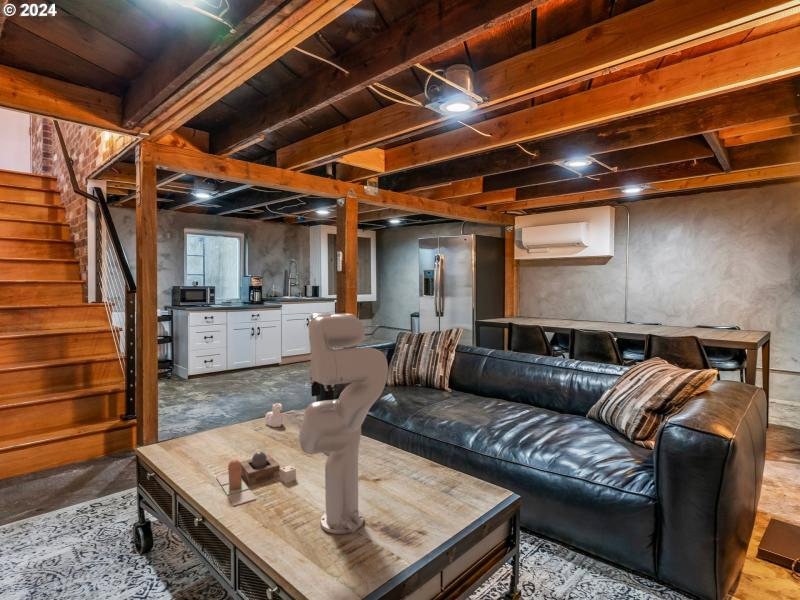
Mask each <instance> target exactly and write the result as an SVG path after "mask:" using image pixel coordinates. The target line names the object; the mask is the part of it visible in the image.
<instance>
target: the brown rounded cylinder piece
mask: <svg viewBox="0 0 800 600" xmlns="http://www.w3.org/2000/svg"><path fill="white" fill-rule="evenodd" d="M240 462H241V461H239V460H238V459H232V460H230V461H229V463H228V465H227V470H228V474H229V489H230V490H237V489H240V488H241V487H242V481H243V479H242V480H241V478H242V475H241V463H240Z"/></svg>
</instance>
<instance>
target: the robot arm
mask: <svg viewBox="0 0 800 600" xmlns="http://www.w3.org/2000/svg"><path fill="white" fill-rule="evenodd" d="M309 317H310V318H309V321H308V338H309V340H308V341H309V346H310V347H309V348H310V352H309V353H310V355H311V358H310V370H309V376H310V377H309V378H310V385H311V387H310V388H311V391H310V392H311V396H312V397H319V396H320V395H321V385H323V387H324V391H323V393H324V397H323V400H318V401H314V402H311V403H310V404H309V405H308V406H307V407H306V408H305V412H304V415H303V418H302V421H301V426H300V430H299V435H298V436H299V437H298V438H299V440H298V442H299V446H300V447H301V448H300V449H301V450H302V451H303V453H305V454H307V455H319V454H325V452H331V453H330V455H329V456H328V455H327V456H328V457H327V458H326V460H325V461H326V462H325V467H324V470H325V473H324V474H325V476H324V479H325V480H324V483H325V484H324V485H325V487H324V488H325V512H324V513H323V514H322V515H321V517H320V522H319V523H320V527H321V529H322V530H324V531H326V532H327V533H329V534H334V535H343V534H344V535H346V534H349V533H350V534H351V533H355V532H356V531H357V530H358V529H360V528H361V527H362V526H363V524H364V514H363V512H362V511H361V510H359V450H360V449H359V448H360V442H361V439H362V425H363V423H364V421H365V420H366V417H367V415H368V413H369V412H370V409H371V407H372V406H373V405H374V404H375V403H376V402H377V400H378V399H379V397H380V396H381V394H382V393H383V391H384V389H385V386H386V383H387V381H388V380H387V379H388V373H389V370H388V369H389V366H388V359H387V357H386V355H385V354H384V353H383V352H382V351H381V350H379V349H377V348H373V347H355V346H357V345H359V344H360V343H362V341H363V340H364V337H365V336H366V328H365V325H364V323H363V322H362V320H360V319H359V318H358V317H356V315H355V314H353V313H330V312H315V313H311V315H310V316H309ZM340 384H341V385H342V384H348V385H347V386H345V388H344V389H343V390H342V391H341V392H340V395H339V397H338V398H335V399H334V397H335V395H334V390H335V386H336V385H340Z"/></svg>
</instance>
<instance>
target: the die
mask: <svg viewBox="0 0 800 600" xmlns="http://www.w3.org/2000/svg"><path fill="white" fill-rule="evenodd" d="M279 479H280V481H282V482H283V481H284V483H285V484H288V483H291V482H293V481H295V480H297V469H296V467H294V466H292V465H290V464H289V465H286V466H284V467H280V476H279ZM287 482H288V483H287Z"/></svg>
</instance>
